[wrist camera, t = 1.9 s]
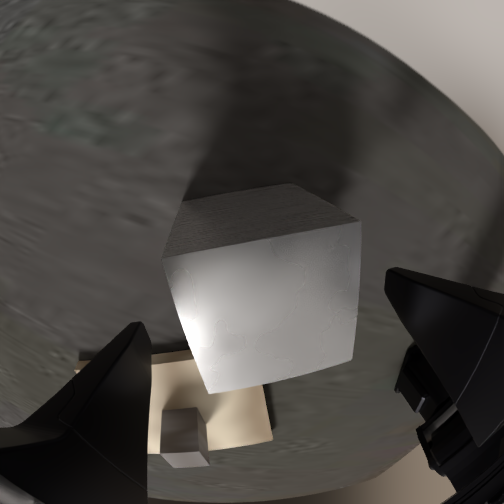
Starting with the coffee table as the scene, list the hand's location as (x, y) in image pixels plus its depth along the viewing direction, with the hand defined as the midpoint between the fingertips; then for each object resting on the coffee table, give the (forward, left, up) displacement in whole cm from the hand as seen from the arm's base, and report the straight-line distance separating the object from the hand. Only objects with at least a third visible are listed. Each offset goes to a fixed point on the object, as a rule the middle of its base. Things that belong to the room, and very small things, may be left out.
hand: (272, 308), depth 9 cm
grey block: (0, 0, -6) cm, 6 cm away
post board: (+7, +13, -6) cm, 16 cm away
